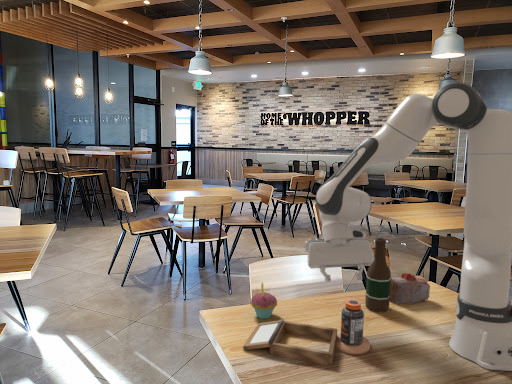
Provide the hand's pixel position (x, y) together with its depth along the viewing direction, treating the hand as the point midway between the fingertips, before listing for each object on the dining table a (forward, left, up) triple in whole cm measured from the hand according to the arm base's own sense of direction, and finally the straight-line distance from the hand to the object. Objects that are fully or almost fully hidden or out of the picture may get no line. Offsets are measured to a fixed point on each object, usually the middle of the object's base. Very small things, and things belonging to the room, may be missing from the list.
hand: (343, 280), depth 114 cm
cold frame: (+9, +16, -14) cm, 23 cm away
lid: (+20, +16, -14) cm, 29 cm away
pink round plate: (-3, +11, -14) cm, 18 cm away
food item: (-21, -27, -15) cm, 37 cm away
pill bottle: (-3, +11, -13) cm, 18 cm away
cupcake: (+25, +1, -14) cm, 29 cm away
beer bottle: (-10, -17, -14) cm, 25 cm away
